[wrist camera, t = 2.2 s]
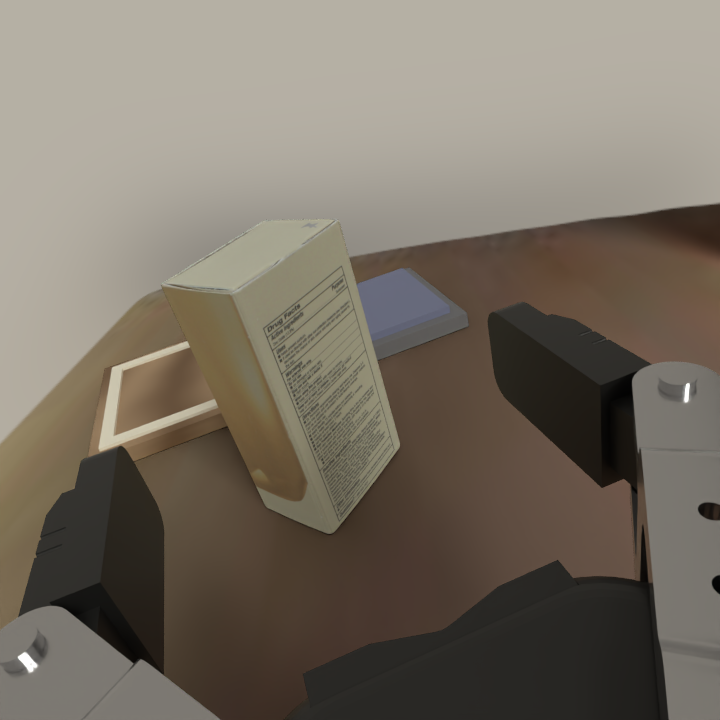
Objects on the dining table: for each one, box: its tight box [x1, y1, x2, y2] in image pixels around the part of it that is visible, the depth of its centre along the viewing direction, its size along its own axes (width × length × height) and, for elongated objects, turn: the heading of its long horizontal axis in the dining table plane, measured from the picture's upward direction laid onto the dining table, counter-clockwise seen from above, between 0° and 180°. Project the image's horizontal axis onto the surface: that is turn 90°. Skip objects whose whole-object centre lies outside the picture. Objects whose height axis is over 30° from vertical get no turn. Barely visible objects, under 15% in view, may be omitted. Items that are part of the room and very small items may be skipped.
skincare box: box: [161, 219, 400, 534], centre depth 24 cm, size 6×4×12 cm
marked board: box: [88, 340, 227, 461], centre depth 38 cm, size 12×12×1 cm
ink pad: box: [356, 268, 469, 360], centre depth 40 cm, size 10×10×2 cm
